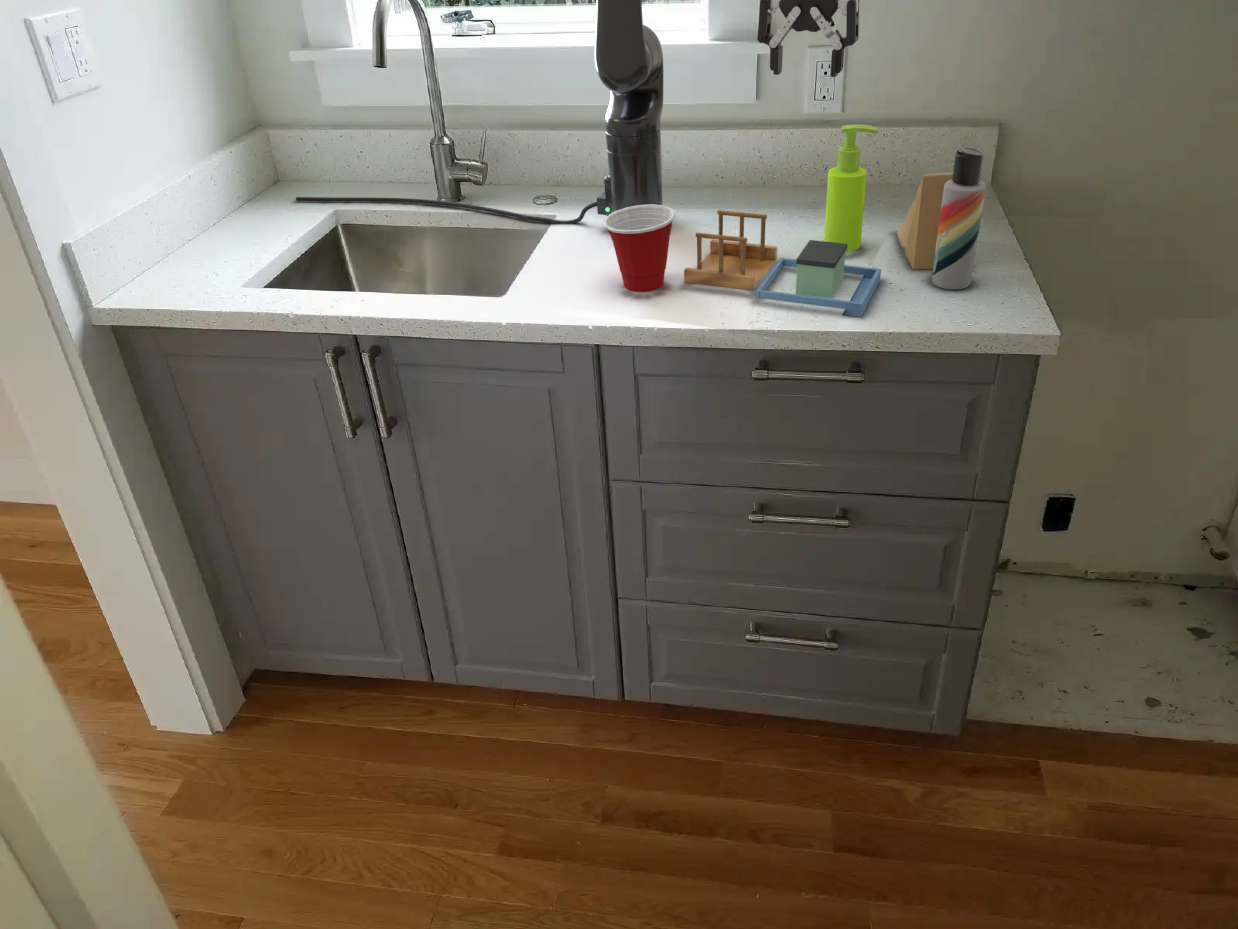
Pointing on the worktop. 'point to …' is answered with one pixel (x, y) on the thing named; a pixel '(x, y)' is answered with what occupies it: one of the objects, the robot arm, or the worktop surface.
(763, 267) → the dish rack
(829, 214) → the soap dispenser
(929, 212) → the sandwich container
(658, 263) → the plastic cup
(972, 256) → the lotion bottle
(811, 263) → the tub
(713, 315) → the worktop surface
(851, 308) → the tray
